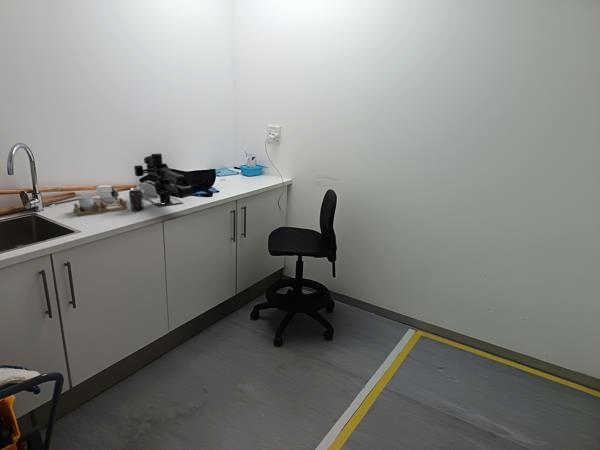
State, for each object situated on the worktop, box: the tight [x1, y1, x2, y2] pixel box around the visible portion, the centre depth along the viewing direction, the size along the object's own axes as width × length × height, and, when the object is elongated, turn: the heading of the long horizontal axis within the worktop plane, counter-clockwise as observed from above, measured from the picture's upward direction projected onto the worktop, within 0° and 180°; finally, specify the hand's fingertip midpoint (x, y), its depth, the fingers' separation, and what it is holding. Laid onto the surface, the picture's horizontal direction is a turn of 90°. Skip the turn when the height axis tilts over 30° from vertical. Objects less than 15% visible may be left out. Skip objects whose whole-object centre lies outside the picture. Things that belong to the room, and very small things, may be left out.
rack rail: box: [72, 196, 129, 217], centre depth 218 cm, size 10×25×8 cm, turn 129°
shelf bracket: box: [95, 184, 120, 204], centre depth 234 cm, size 6×25×13 cm, turn 44°
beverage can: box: [128, 187, 145, 212], centre depth 220 cm, size 7×7×12 cm
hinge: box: [140, 180, 161, 198], centre depth 252 cm, size 17×5×10 cm, turn 51°
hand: (145, 168), depth 249 cm, fingers open, 9 cm apart
